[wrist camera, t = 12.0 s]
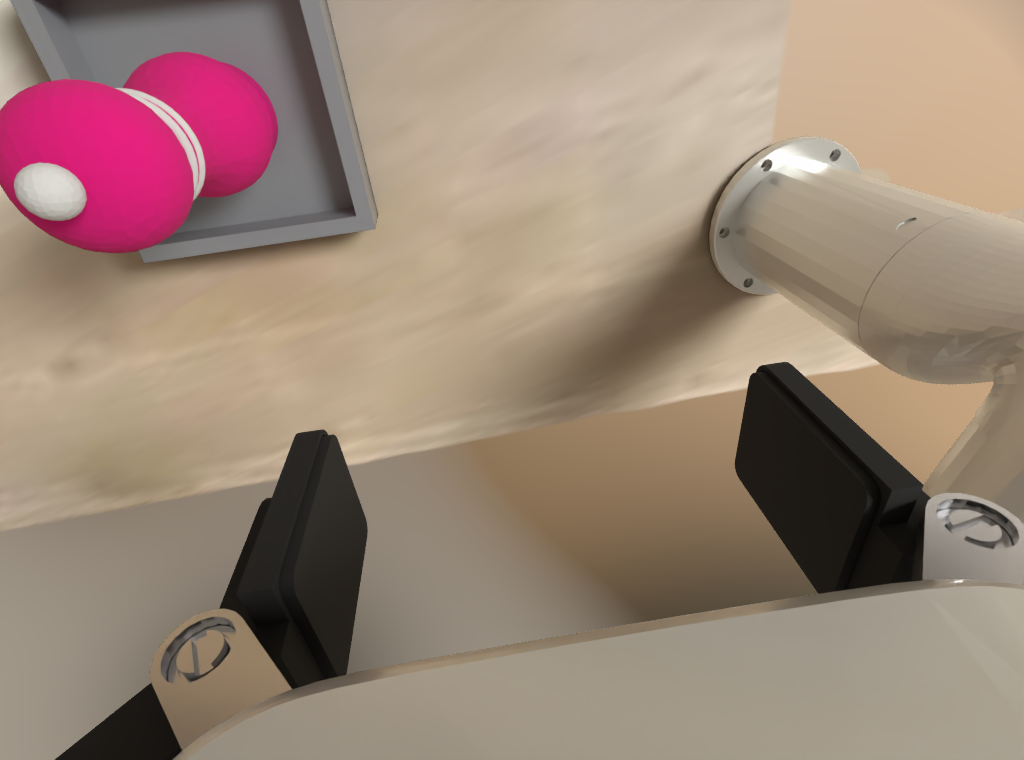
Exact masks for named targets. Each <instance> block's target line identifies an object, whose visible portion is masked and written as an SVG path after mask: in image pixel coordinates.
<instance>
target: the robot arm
mask: <svg viewBox="0 0 1024 760" xmlns="http://www.w3.org/2000/svg"><path fill="white" fill-rule="evenodd" d="M762 163H763V164H762ZM720 230H721V231H720ZM709 240H710V251H711V255H712V260H713V262H714V264H715V266H716V268H717V270H718V272H719V273H720V274H721V275H722V276H723V277H724V278H725V280H727V281H728V282H730V283H731V284H732V285H733V286H735V287H736V288H738V289H740V290H742V291H744V292H748V293H752V294H760V295H770V294H776V293H779V294H781V295H782V296H784V297H785V298H786V299H788V300H789V301H791V302H792V303H794V304H795V305H797V306H798V307H799V308H801V309H802V310H804V311H805V312H807V313H808V314H810V315H811V316H812V317H814V318H815V319H817V320H818V321H820V322H821V323H823V324H824V325H825V326H827V327H828V328H830V329H831V330H833V331H834V332H836V333H837V334H838V335H840V336H841V337H843V338H844V339H846V340H847V341H849V342H850V343H851V344H853V345H854V346H856V347H857V348H859V349H860V350H862V351H863V352H864V353H866V354H867V355H869V356H870V357H872V358H874V359H875V360H877V361H878V362H879V363H881V364H882V365H884V366H885V367H887V368H889V369H890V370H892V371H894V372H896V373H897V374H900V375H902V376H905V377H907V378H910V379H913V380H917V381H922V382H926V383H934V384H971V383H982V382H991V381H994V384H993V387H992V389H991V392H990V393H989V395H988V396H987V398H986V399H985V401H984V402H983V404H982V405H981V407H980V408H979V409H978V410H977V412H976V414H975V417H974V418H973V419H972V421H971V422H970V423H969V425H968V426H967V427H966V429H965V430H964V431H963V432H962V434H961V435H960V437H959V438H958V439H957V440H956V442H955V443H954V444H953V446H952V447H951V448H950V449H949V451H948V452H947V453H946V455H945V456H944V457H943V459H942V460H941V461H940V463H939V464H938V465H937V467H936V468H935V469H934V470H933V472H932V473H931V474H930V476H929V478H928V479H927V480H926V482H925V483H924V484H922V483H921V482H919V481H918V480H917V479H916V478H915V477H914V476H913V475H912V474H911V473H910V472H909V471H907V470H906V469H905V468H904V467H903V466H902V465H901V464H900V463H899V462H897V460H895V459H894V458H893V457H892V456H891V455H890V454H889V453H888V452H887V451H886V450H884V449H883V448H882V447H881V446H880V445H879V444H878V443H877V442H876V441H875V440H874V439H872V438H871V437H870V436H869V435H868V434H867V433H866V432H865V431H863V429H861V428H860V427H859V426H858V425H857V424H856V423H855V422H854V421H853V420H852V419H850V418H849V417H848V416H847V415H846V414H845V413H844V412H843V411H842V410H841V409H840V408H838V407H837V406H836V405H835V404H834V403H833V402H832V401H831V400H830V399H828V398H827V397H826V396H825V395H824V394H823V393H822V392H821V391H820V390H819V389H818V388H816V387H815V386H814V385H813V384H812V383H811V382H810V381H809V380H808V379H807V378H806V377H804V376H803V375H802V374H801V373H800V372H799V371H798V370H797V369H796V368H795V367H793V366H792V365H791V364H790V363H788V362H782V363H775V364H768V365H762V366H760V367H759V368H758V369H757V371H756V373H753V374H752V375H751V376H750V379H749V384H748V390H747V396H746V402H745V407H744V413H743V419H742V424H741V431H740V436H739V441H738V447H737V453H736V459H735V469H736V473H737V475H738V477H739V479H740V480H741V482H742V483H743V485H744V486H745V488H746V489H747V491H748V492H749V494H750V495H751V496H752V498H753V499H754V501H755V502H756V504H757V505H758V507H759V508H760V509H761V511H762V512H763V514H764V515H765V517H766V518H767V520H768V521H769V523H770V524H771V525H772V527H773V528H774V530H775V531H776V533H777V534H778V536H779V537H780V539H781V540H782V541H783V543H784V544H785V546H786V547H787V549H788V550H789V551H790V553H791V554H792V556H793V557H794V559H795V560H796V562H797V563H798V565H799V566H800V568H801V569H802V570H803V572H804V573H805V575H806V576H807V578H808V579H809V581H810V582H811V584H812V585H813V586H814V588H815V589H816V591H817V592H818V594H814V595H808V596H802V597H796V598H789V599H783V600H777V601H771V602H764V603H758V604H752V605H746V606H739V607H733V608H727V609H721V610H714V611H708V612H702V613H696V614H690V615H684V616H678V617H672V618H666V619H660V620H654V621H648V622H641V623H635V624H629V625H624V626H617V627H612V628H605V629H600V630H593V631H587V632H581V633H576V634H569V635H563V636H557V637H551V638H546V639H540V640H535V641H528V642H522V643H516V644H511V645H505V646H499V647H493V648H487V649H481V650H476V651H470V652H464V653H458V654H453V655H447V656H441V657H435V658H430V659H425V660H419V661H414V662H409V663H403V664H398V665H393V666H387V667H382V668H377V669H372V670H366V671H361V672H356V673H352V674H347V675H346V673H347V667H348V660H349V653H350V647H351V641H352V634H353V627H354V620H355V614H356V607H357V600H358V593H359V587H360V581H361V574H362V567H363V561H364V554H365V547H366V541H367V522H366V518H365V515H364V512H363V510H362V507H361V504H360V501H359V498H358V496H357V493H356V490H355V487H354V484H353V482H352V479H351V476H350V473H349V470H348V467H347V465H346V462H345V459H344V456H343V453H342V451H341V448H340V445H339V442H338V439H337V437H336V436H335V435H328V434H327V432H326V431H325V430H316V431H309V432H302V433H298V434H296V436H295V437H294V440H293V443H292V446H291V448H290V451H289V454H288V456H287V459H286V462H285V464H284V467H283V470H282V472H281V475H280V478H279V480H278V483H277V486H276V488H275V491H274V494H273V497H272V498H267V499H265V500H264V501H263V502H262V503H261V505H260V507H259V509H258V512H257V514H256V517H255V519H254V522H253V524H252V527H251V529H250V532H249V534H248V537H247V540H246V542H245V545H244V547H243V550H242V552H241V555H240V557H239V560H238V562H237V565H236V568H235V570H234V573H233V575H232V578H231V580H230V583H229V585H228V588H227V590H226V593H225V596H224V598H223V601H222V603H221V606H220V608H219V609H213V610H209V611H206V612H203V613H200V614H198V615H196V616H194V617H192V618H191V619H189V620H187V621H185V622H184V623H182V624H181V625H180V626H179V627H177V628H176V629H175V630H174V631H173V632H171V633H170V634H169V636H168V637H167V638H166V639H165V641H163V643H162V644H161V645H160V646H159V648H158V650H157V652H156V654H155V656H154V657H153V660H152V664H151V668H150V678H151V683H150V684H149V685H148V686H146V687H145V688H144V689H143V690H142V691H140V692H139V693H138V694H136V695H135V696H134V697H133V698H131V699H130V700H129V701H128V702H126V703H125V704H124V705H123V706H121V707H120V708H119V709H118V710H116V711H115V712H114V713H113V714H111V715H110V716H109V717H108V718H106V719H105V720H104V721H103V722H101V723H100V724H99V725H98V726H96V727H95V728H94V729H93V730H91V731H90V732H89V733H88V734H86V735H85V736H84V737H83V738H81V739H80V740H79V741H78V742H76V743H75V744H74V745H73V746H71V747H70V748H69V749H68V750H66V751H65V752H64V753H63V754H61V755H60V756H59V757H58V758H56V759H55V760H1024V222H1021V221H1018V220H1014V219H1011V218H1007V217H1004V216H1001V215H997V214H994V213H989V212H985V211H982V210H979V209H976V208H972V207H969V206H966V205H962V204H959V203H955V202H952V201H949V200H946V199H942V198H939V197H936V196H932V195H929V194H925V193H922V192H919V191H916V190H912V189H909V188H906V187H902V186H899V185H895V184H892V183H889V182H886V181H882V180H879V179H876V178H872V177H869V176H866V175H862V173H861V169H860V166H859V164H858V163H857V161H856V159H855V158H854V156H853V155H852V154H851V153H850V152H849V151H848V150H847V149H846V148H845V147H844V146H842V145H840V144H838V143H836V142H834V141H832V140H829V139H824V138H821V137H812V136H802V137H795V138H790V139H787V140H784V141H781V142H778V143H775V144H773V145H772V146H770V147H768V148H766V149H764V150H763V151H761V152H759V153H758V154H757V155H756V156H754V157H753V158H752V159H751V160H749V161H748V162H747V163H746V164H745V165H744V166H743V167H742V168H741V169H740V170H739V171H738V172H737V173H736V174H735V175H734V177H733V178H732V179H731V181H730V182H729V184H728V185H727V187H726V188H725V189H724V191H723V193H722V195H721V197H720V199H719V201H718V203H717V205H716V208H715V211H714V214H713V217H712V220H711V227H710V233H709Z"/></svg>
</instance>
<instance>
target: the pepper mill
mask: <svg viewBox="0 0 1024 760" xmlns="http://www.w3.org/2000/svg"><path fill="white" fill-rule="evenodd" d="M277 137H278V123H277V117H276V113H275V110H274V108H273V105H272V103H271V101H270V99H269V97H268V96H267V94H266V93H265V91H264V90H263V89H262V87H261V86H260V85H259V84H258V83H257V82H256V81H255V80H254V79H253V78H252V77H251V76H249V75H248V74H247V73H245V72H244V71H242V70H241V69H239V68H237V67H235V66H233V65H230V64H228V63H224V62H220V61H217V60H215V59H213V58H210V57H207V56H204V55H201V54H197V53H191V52H173V53H166V54H163V55H160V56H158V57H155V58H152V59H149V60H148V61H146V62H144V63H143V64H141V65H140V66H138V67H137V68H136V69H135V70H134V71H133V72H132V74H131V75H130V77H129V78H128V80H127V81H126V83H125V84H124V86H123V88H113V87H110V86H108V85H105V84H102V83H97V82H91V81H86V80H74V79H61V80H55V81H49V82H43V83H39V84H37V85H34V86H32V87H29V88H27V89H25V90H23V91H21V92H19V93H18V94H16V95H15V96H14V97H12V98H11V99H10V100H9V101H7V102H6V104H5V105H4V106H3V108H2V109H1V110H0V185H1V187H2V188H3V190H4V191H5V193H6V194H7V196H8V198H9V199H10V200H11V201H12V203H13V204H14V205H15V206H16V207H17V208H18V210H19V211H20V212H21V213H22V214H23V215H24V216H26V217H27V218H28V219H29V220H30V221H31V222H32V223H34V224H35V225H36V226H37V227H39V228H40V229H42V230H43V231H45V232H46V233H48V234H49V235H51V236H53V237H55V238H57V239H59V240H61V241H63V242H65V243H67V244H70V245H73V246H76V247H79V248H82V249H85V250H90V251H96V252H108V253H124V252H134V251H138V250H142V249H146V248H149V247H152V246H154V245H156V244H158V243H160V242H162V241H164V240H165V239H167V238H168V237H170V236H171V235H172V234H173V233H174V232H175V231H176V230H177V229H178V228H179V227H180V226H181V225H182V224H183V223H184V221H185V220H186V219H187V216H188V214H189V211H190V209H191V206H192V204H193V201H194V200H195V199H196V197H197V196H198V197H214V198H215V197H225V196H229V195H232V194H235V193H238V192H240V191H243V190H245V189H246V188H248V187H250V186H251V185H253V184H254V183H255V182H256V181H257V180H258V179H259V178H261V176H262V175H263V173H264V172H265V170H266V169H267V167H268V164H269V162H270V159H271V155H272V152H273V150H274V148H275V146H276V142H277Z"/></svg>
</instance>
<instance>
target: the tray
mask: <svg viewBox="0 0 1024 760" xmlns="http://www.w3.org/2000/svg"><path fill="white" fill-rule="evenodd" d="M10 1H11V3H12V5H13V7H14V9H15V11H16V13H17V15H18V17H19V19H20V21H21V23H22V24H23V26H24V28H25V30H26V32H27V34H28V36H29V38H30V40H31V42H32V44H33V46H34V48H35V50H36V52H37V54H38V56H39V58H40V60H41V62H42V64H43V66H44V68H45V70H46V71H47V73H48V75H49V77H50V79H51V81H55V80H61V79H74V80H86V81H91V82H97V83H102V84H105V85H108V86H110V87H113V88H123V86H124V84H125V83H126V81H127V80H128V78H129V77H130V75H131V74H132V72H133V71H134V70H135V69H136V68H137V67H138V66H140V65H141V64H143V63H144V62H146V61H148V60H149V59H152V58H155V57H158V56H160V55H163V54H166V53H173V52H191V53H197V54H201V55H204V56H207V57H210V58H213V59H215V60H217V61H220V62H224V63H228V64H230V65H233V66H235V67H237V68H239V69H241V70H242V71H244V72H245V73H247V74H248V75H249V76H251V77H252V78H253V79H254V80H255V81H256V82H257V83H258V84H259V85H260V86H261V87H262V89H263V90H264V91H265V93H266V94H267V96H268V97H269V99H270V101H271V103H272V105H273V108H274V110H275V113H276V117H277V123H278V137H277V142H276V146H275V148H274V150H273V152H272V155H271V159H270V162H269V164H268V167H267V169H266V170H265V172H264V173H263V175H262V176H261V178H259V179H258V180H257V181H256V182H255V183H254V184H253V185H251V186H250V187H248V188H246V189H245V190H243V191H240V192H238V193H235V194H232V195H229V196H225V197H215V198H214V197H198V196H197V197H196V199H195V200H194V201H193V204H192V206H191V209H190V211H189V214H188V216H187V219H186V220H185V221H184V223H183V224H182V225H181V226H180V227H179V228H178V229H177V230H176V231H175V232H174V233H173V234H172V235H171V236H170V237H168V238H167V239H165V240H164V241H162V242H160V243H158V244H156V245H154V246H152V247H149V248H146V249H142V250H138V252H139V254H140V256H141V258H142V260H143V262H144V263H149V262H156V261H163V260H170V259H176V258H183V257H190V256H197V255H204V254H210V253H217V252H224V251H231V250H237V249H244V248H251V247H258V246H264V245H271V244H278V243H285V242H291V241H298V240H305V239H312V238H318V237H325V236H332V235H339V234H345V233H352V232H359V231H366V230H372V229H375V228H376V223H377V218H378V212H377V208H376V204H375V200H374V196H373V192H372V188H371V183H370V179H369V175H368V171H367V167H366V163H365V158H364V154H363V150H362V146H361V142H360V138H359V133H358V129H357V125H356V121H355V117H354V113H353V108H352V104H351V100H350V96H349V92H348V88H347V84H346V79H345V75H344V71H343V67H342V63H341V59H340V54H339V50H338V46H337V42H336V38H335V34H334V29H333V25H332V21H331V17H330V13H329V9H328V4H327V0H10Z"/></svg>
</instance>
